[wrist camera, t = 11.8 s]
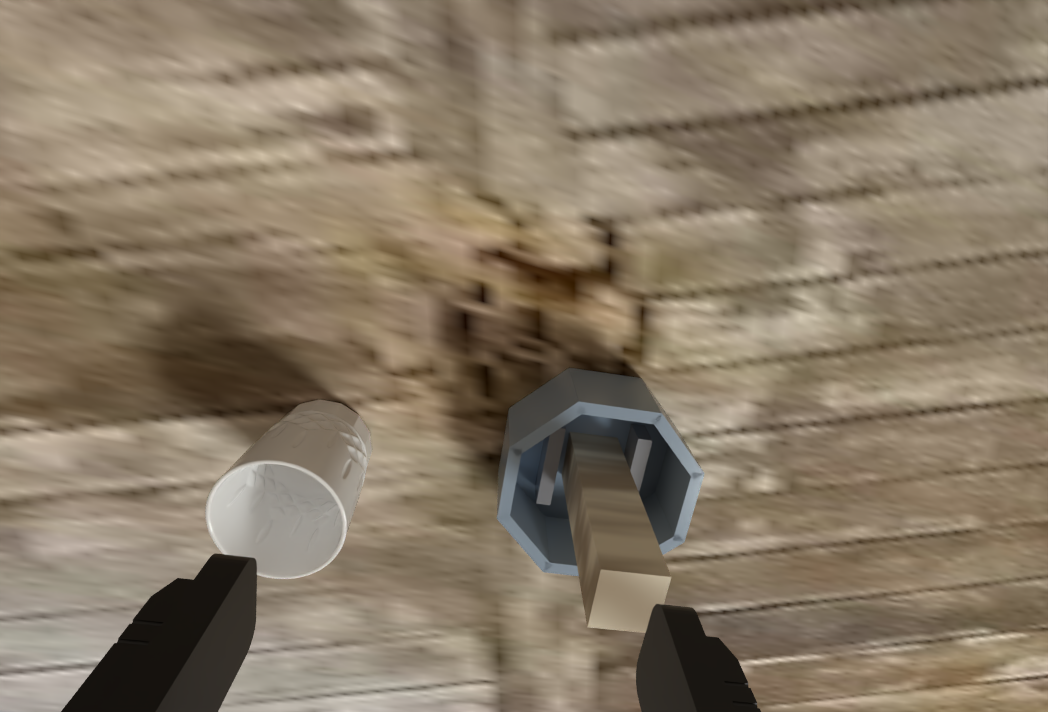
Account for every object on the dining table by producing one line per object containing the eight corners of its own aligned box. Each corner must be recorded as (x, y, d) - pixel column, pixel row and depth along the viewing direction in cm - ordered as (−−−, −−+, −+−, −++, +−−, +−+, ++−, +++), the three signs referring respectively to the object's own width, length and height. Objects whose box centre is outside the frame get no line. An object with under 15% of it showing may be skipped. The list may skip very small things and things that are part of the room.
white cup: (358, 503, 45) (319, 597, 36) (256, 465, 44) (188, 551, 35) (396, 416, 43) (366, 492, 34) (290, 373, 42) (227, 439, 32)
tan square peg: (569, 431, 43) (600, 569, 29) (617, 437, 44) (671, 577, 29) (561, 474, 44) (587, 626, 30) (607, 479, 45) (655, 634, 30)
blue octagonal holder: (517, 360, 42) (519, 393, 36) (691, 385, 43) (719, 421, 37) (490, 514, 46) (488, 565, 40) (651, 534, 47) (670, 587, 41)
